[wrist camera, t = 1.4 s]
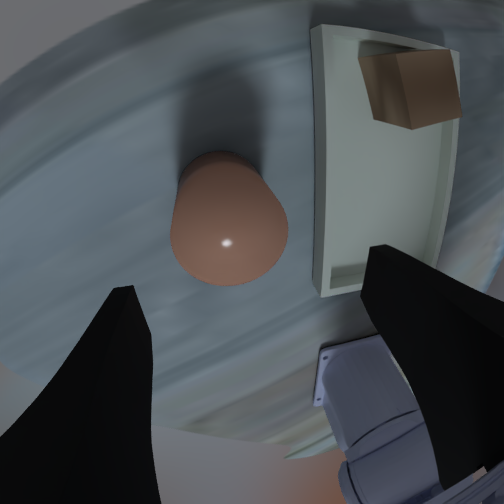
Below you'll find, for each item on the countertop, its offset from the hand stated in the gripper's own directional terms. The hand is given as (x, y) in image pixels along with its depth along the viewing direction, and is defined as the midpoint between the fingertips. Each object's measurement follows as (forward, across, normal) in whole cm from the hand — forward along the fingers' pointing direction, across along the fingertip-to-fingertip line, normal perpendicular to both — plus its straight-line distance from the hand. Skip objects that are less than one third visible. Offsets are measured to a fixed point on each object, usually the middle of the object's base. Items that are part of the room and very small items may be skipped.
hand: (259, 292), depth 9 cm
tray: (+10, -11, 0) cm, 15 cm away
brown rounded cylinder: (+10, 0, +1) cm, 10 cm away
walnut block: (+10, -11, -6) cm, 16 cm away
